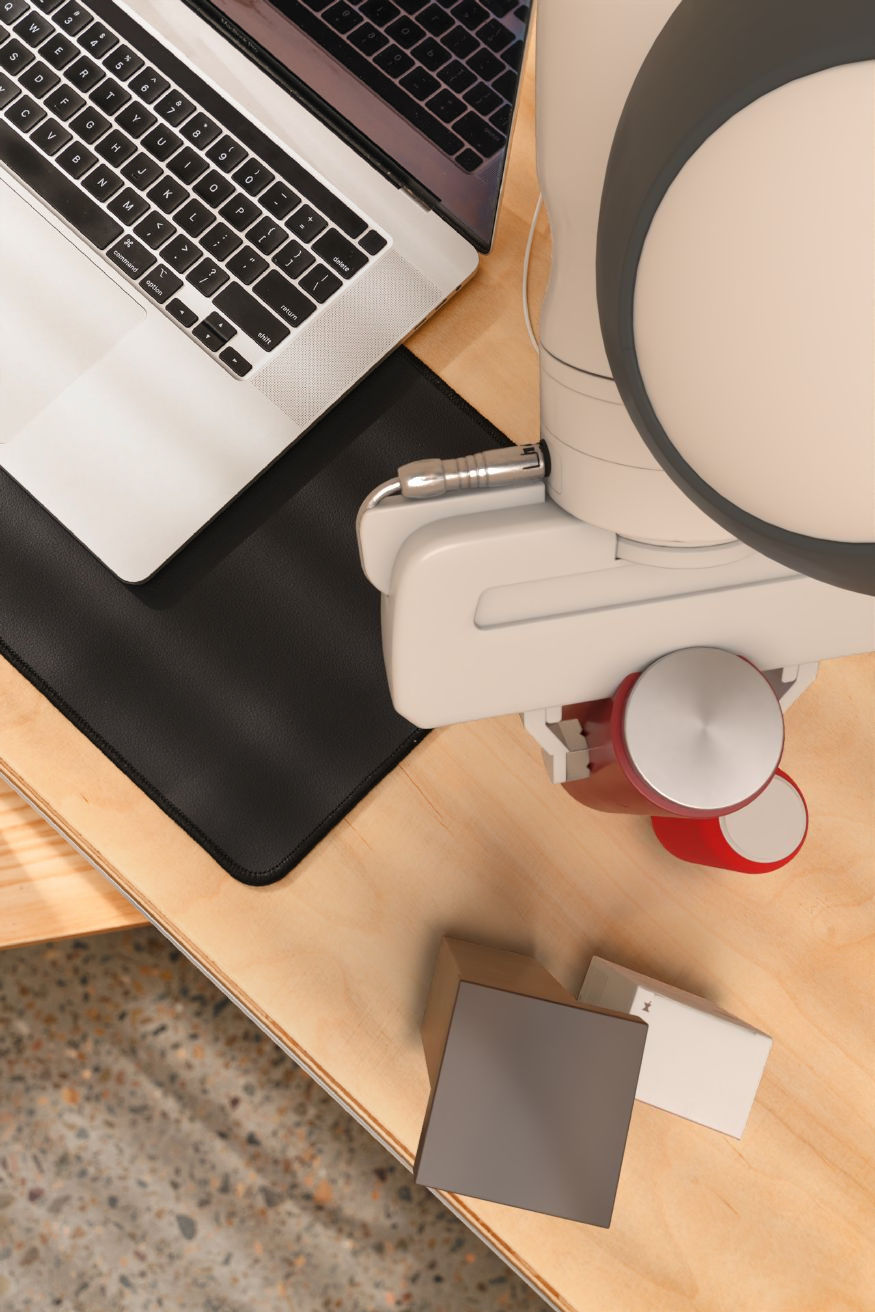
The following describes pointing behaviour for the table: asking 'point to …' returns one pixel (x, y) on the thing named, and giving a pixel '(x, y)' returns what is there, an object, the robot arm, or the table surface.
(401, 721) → the table surface
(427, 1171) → the walnut stand
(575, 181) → the robot arm
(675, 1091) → the small box
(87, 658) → the table surface
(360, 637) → the table surface
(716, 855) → the beverage can
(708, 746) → the soda can
